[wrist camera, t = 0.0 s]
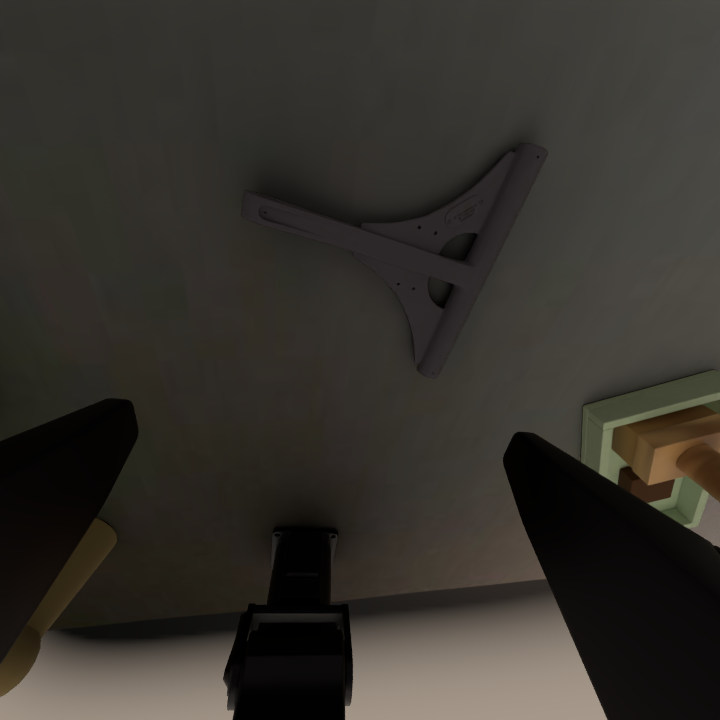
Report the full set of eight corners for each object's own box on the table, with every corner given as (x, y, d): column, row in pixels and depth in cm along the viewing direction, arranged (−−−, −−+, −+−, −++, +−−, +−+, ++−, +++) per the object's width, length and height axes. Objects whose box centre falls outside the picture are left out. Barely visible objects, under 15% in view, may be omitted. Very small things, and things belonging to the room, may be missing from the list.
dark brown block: (656, 484, 32) (671, 497, 30) (616, 495, 32) (628, 508, 31) (663, 457, 30) (678, 469, 28) (619, 468, 30) (632, 481, 29)
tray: (676, 505, 34) (698, 526, 32) (577, 529, 35) (592, 551, 33) (714, 369, 26) (747, 385, 24) (582, 405, 27) (603, 423, 25)
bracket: (273, 39, 15) (260, 10, 13) (537, 155, 18) (569, 150, 15) (233, 316, 21) (219, 332, 19) (433, 368, 24) (444, 388, 22)
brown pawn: (104, 559, 32) (4, 718, 23) (37, 539, 30) (-105, 704, 20) (127, 528, 30) (29, 687, 21) (57, 504, 28) (-89, 669, 18)
